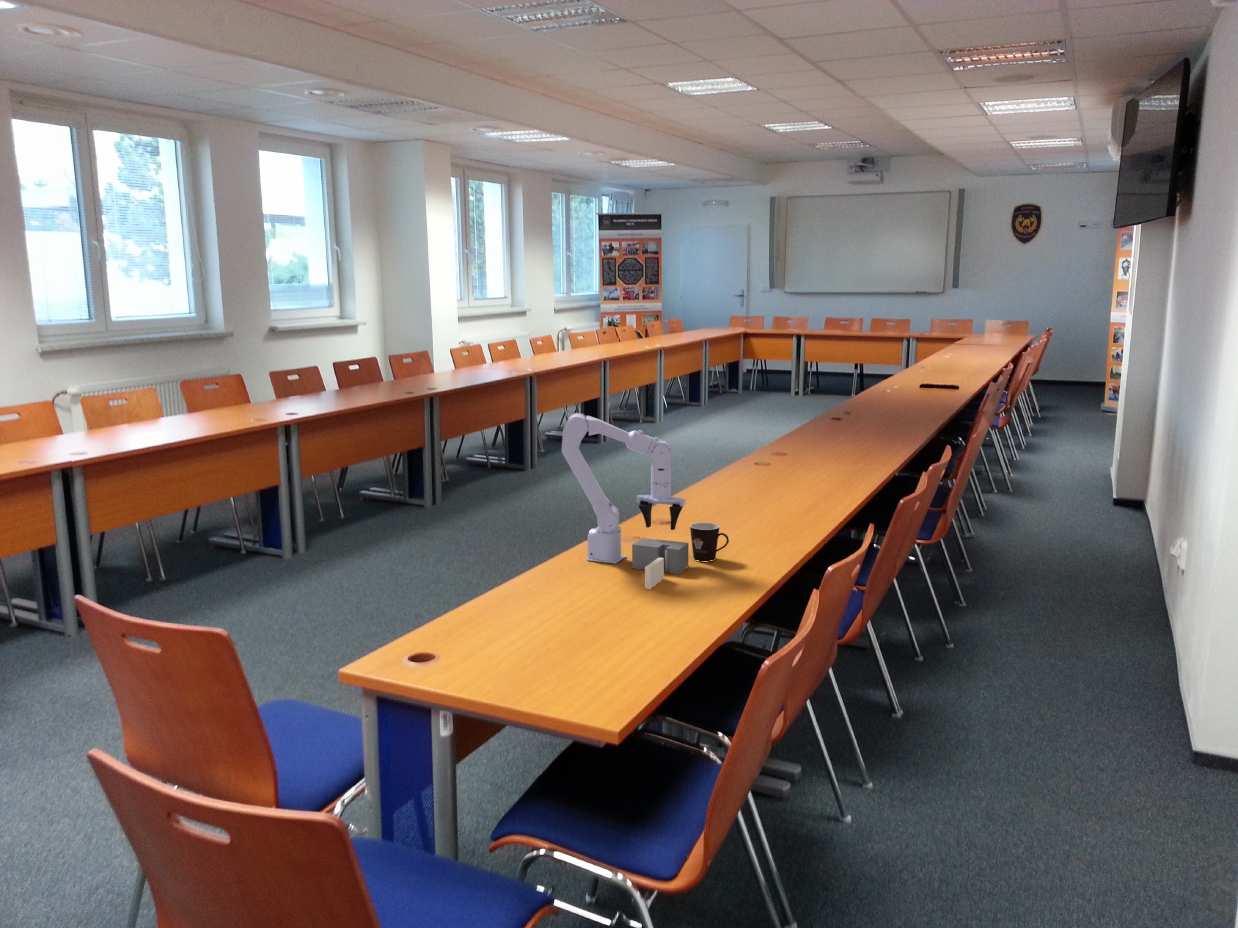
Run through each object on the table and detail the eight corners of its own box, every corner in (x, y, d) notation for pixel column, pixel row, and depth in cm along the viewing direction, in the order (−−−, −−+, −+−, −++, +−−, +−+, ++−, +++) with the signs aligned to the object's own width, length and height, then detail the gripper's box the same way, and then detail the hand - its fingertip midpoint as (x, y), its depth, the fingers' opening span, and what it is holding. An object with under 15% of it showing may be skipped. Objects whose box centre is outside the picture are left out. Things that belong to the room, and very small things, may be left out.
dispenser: (631, 569, 263) (631, 545, 262) (642, 561, 271) (642, 537, 270) (677, 574, 257) (678, 550, 256) (688, 566, 265) (688, 542, 264)
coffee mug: (684, 557, 274) (684, 524, 273) (708, 553, 278) (709, 521, 276) (705, 567, 264) (705, 533, 262) (730, 563, 268) (731, 529, 266)
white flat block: (644, 588, 245) (644, 566, 244) (658, 578, 254) (658, 557, 253) (650, 589, 245) (650, 567, 244) (663, 579, 254) (663, 557, 253)
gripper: (632, 483, 268) (632, 528, 270) (679, 486, 262) (679, 533, 265) (641, 478, 274) (641, 523, 277) (688, 482, 269) (687, 527, 271)
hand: (660, 528), depth 271 cm, fingers open, 7 cm apart
